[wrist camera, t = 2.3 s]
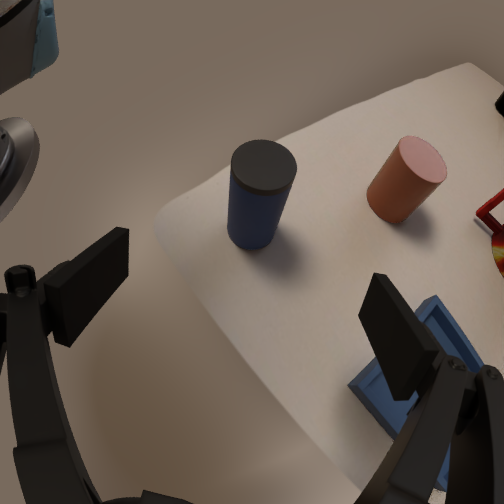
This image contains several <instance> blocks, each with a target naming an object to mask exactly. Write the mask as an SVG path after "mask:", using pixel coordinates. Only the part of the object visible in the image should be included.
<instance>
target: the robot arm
mask: <svg viewBox="0 0 504 504" xmlns="http://www.w3.org/2000/svg"><path fill="white" fill-rule="evenodd" d="M58 54H59V48H58V41H57V33H56V25H55V16H54V5H53V0H0V95H1V94H2V93H4V92H5V91H7V90H9V89H10V88H12V87H14V86H15V85H17V84H19V83H20V82H22V81H24V80H26V79H28V78H32V77H33V76H34V75H35V74H36V73H38V72H40V71H41V70H43V69H45V68H47V67H49V66H50V65H52V64H53V63H54V62H55V60H56V59H57V57H58ZM13 152H14V142H13V139H12V138H11V136H10V134H9V133H8V131H7V130H6V129H4V128H3V127H2V126H0V181H1V180H2V178H3V176H4V175H5V173H6V171H7V169H8V167H9V165H10V162H11V160H12V156H13ZM128 260H129V229H126V228H121V227H116V228H114V229H113V230H111V231H110V232H109V233H107V234H106V235H105V236H103V237H102V238H100V239H99V240H98V241H96V242H95V243H94V244H92V245H91V246H90V247H88V248H87V249H86V250H84V251H83V252H82V253H80V254H79V255H78V256H77V257H75V258H74V259H73V260H71V261H65V262H63V263H60V264H58V265H57V266H56V267H54V268H53V270H51V271H49V272H48V274H46V275H44V276H43V277H42V278H41V279H39V280H38V281H37V282H36V277H35V271H34V268H33V267H31V266H29V265H17V266H13V267H11V268H9V269H8V270H7V271H6V272H5V274H4V277H5V282H6V287H7V292H8V294H6V293H5V294H4V293H0V374H1V369H2V365H3V362H4V358H5V354H6V350H7V369H8V381H9V392H10V401H11V409H12V416H13V423H14V429H15V434H16V439H17V447H15V448H13V456H14V462H15V466H16V470H17V474H18V478H19V481H20V485H21V489H22V492H23V496H24V499H25V502H26V504H193V503H190V502H188V501H186V500H183V499H178V498H174V497H170V496H165V495H162V494H158V493H154V492H150V491H146V490H143V492H142V496H141V498H139V497H129V498H128V497H126V498H118V499H113V500H109V501H105V502H102V501H101V499H100V497H99V495H98V493H97V491H96V489H95V487H94V486H93V484H92V481H91V479H90V477H89V475H88V473H87V470H86V468H85V466H84V463H83V460H82V458H81V455H80V453H79V450H78V448H77V445H76V442H75V439H74V437H73V433H72V431H71V428H70V425H69V422H68V419H67V415H66V412H65V409H64V405H63V402H62V398H61V394H60V391H59V387H58V383H57V379H56V375H55V370H54V366H53V362H52V357H51V352H50V346H49V342H48V338H47V336H48V335H49V334H50V332H53V336H54V341H55V342H56V343H58V344H61V345H64V346H67V347H69V348H70V347H71V345H72V344H73V343H74V341H75V340H76V339H77V337H78V336H79V335H80V334H81V332H82V331H83V330H84V329H85V327H86V326H87V325H88V324H89V322H90V321H91V320H92V318H93V317H94V316H95V315H96V314H97V312H98V311H99V310H100V309H101V307H102V306H103V305H104V304H105V303H106V302H107V300H108V299H109V298H110V297H111V295H112V294H113V293H114V292H115V291H116V290H117V288H118V287H119V286H120V285H121V284H122V283H123V281H124V280H125V279H126V278H127V277H128V263H129V261H128ZM358 317H359V319H360V321H361V323H362V326H363V328H364V330H365V332H366V335H367V337H368V339H369V341H370V344H371V346H372V348H373V351H374V353H375V355H376V358H377V360H378V363H379V365H380V367H381V370H382V372H383V375H384V377H385V380H386V382H387V385H388V387H389V390H390V392H391V395H392V397H393V400H394V401H409V399H410V398H411V396H412V395H413V393H414V392H415V390H416V392H417V394H418V396H419V397H418V398H417V400H416V401H415V403H414V404H413V406H412V407H411V408H410V410H409V411H408V412H407V414H406V415H408V417H407V419H406V421H405V423H404V424H403V426H402V428H401V430H400V432H399V434H398V436H397V437H396V439H395V441H394V443H393V444H392V446H391V448H390V450H389V451H388V453H387V455H386V456H385V458H384V460H383V461H382V463H381V464H380V466H379V468H378V469H377V471H376V472H375V474H374V475H373V477H372V478H371V480H370V481H369V483H368V484H367V486H366V487H365V489H364V490H363V492H362V493H361V494H360V496H359V497H358V499H357V500H356V501H355V503H354V504H430V503H428V500H429V497H430V495H431V493H432V490H433V488H434V485H435V483H436V481H437V478H438V476H439V473H440V470H441V468H442V465H443V462H444V460H445V457H446V454H447V451H448V448H449V445H450V460H449V473H448V483H447V492H446V500H445V504H504V380H503V377H502V374H501V373H500V372H499V370H498V369H497V368H495V367H493V366H490V365H483V366H482V367H481V369H480V370H479V372H478V373H475V372H471V371H468V367H467V365H466V364H465V363H464V362H463V361H462V360H461V359H459V358H458V357H455V356H453V355H447V353H446V352H445V350H444V349H443V347H442V346H441V345H440V343H439V342H438V341H437V339H436V337H435V336H434V335H433V333H432V331H431V330H430V329H429V327H428V326H426V325H425V324H424V323H423V322H422V321H419V319H418V318H417V316H416V315H415V313H414V312H413V311H412V309H411V308H410V306H409V305H408V304H407V302H406V301H405V300H404V298H403V297H402V295H401V294H400V293H399V291H398V290H397V289H396V287H395V286H394V285H393V283H392V282H391V281H390V279H389V278H388V277H387V275H385V274H379V273H374V274H373V276H372V279H371V282H370V285H369V288H368V290H367V293H366V296H365V299H364V301H363V304H362V307H361V309H360V312H359V314H358Z"/></svg>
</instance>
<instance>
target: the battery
mask: <svg viewBox="0 0 504 504" xmlns="http://www.w3.org/2000/svg"><path fill="white" fill-rule="evenodd" d="M495 105H496V107H497V109H498V110H499V112H500V113H501V114H502V115H503V116H504V91H503V93H502V94H501V95H500V97H499V98H498V99H497V101H496V102H495Z"/></svg>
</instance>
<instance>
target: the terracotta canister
mask: <svg viewBox="0 0 504 504" xmlns="http://www.w3.org/2000/svg"><path fill="white" fill-rule="evenodd" d="M446 176H447V168H446V165H445V162H444V160H443V158H442V157H441V155H440V154H439V152H438V151H437V150H436V149H435V148H434V147H433V146H432V145H431V144H429V143H428V142H426V141H425V140H423V139H421V138H419V137H415V136H405V137H403V138H401V139H400V141H399V142H398V144H397V145H396V147H395V148H394V150H393V151H392V153H391V154H390V156H389V157H388V159H387V160H386V162H385V163H384V165H383V166H382V168H381V169H380V170H379V172H378V173H377V175H376V176H375V178H374V179H373V181H372V182H371V183H370V185H369V187H368V189H367V199H368V202H369V205H370V207H371V208H372V210H373V211H374V212H375V213H376V214H377V215H378V216H379V217H380V218H382V219H383V220H385V221H388V222H391V223H400V222H403V221H404V220H406V219H407V218H408V217H409V216H410V215H411V214H412V213H413V212H414V211H415V210H416V209H417V208H418V207H419V206H420V205H421V204H422V203H423V202H424V201H425V200H426V199H427V198H428V197H429V196H430V195H431V194H432V193H433V192H434V190H435V189H436V188H437V187H438V186H439V185H440V184H441V183H442V182H443V181H444V180H445V178H446Z"/></svg>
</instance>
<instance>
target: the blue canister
mask: <svg viewBox="0 0 504 504" xmlns="http://www.w3.org/2000/svg"><path fill="white" fill-rule="evenodd" d="M296 172H297V164H296V161H295V158H294V156H293V155H292V154H291V152H290V151H289V150H288V149H286V148H285V147H284V146H282V145H280V144H278V143H276V142H273V141H269V140H253V141H249V142H246V143H244V144H242V145H241V146H239V147H238V148H237V149H236V150H235V152H234V153H233V156H232V159H231V171H230V187H229V204H228V223H227V230H228V234H229V237H230V238H231V240H232V241H233V242H234V243H235V244H236V245H238V246H239V247H241V248H244V249H248V250H256V249H260V248H263V247H265V246H266V245H268V244H269V243H270V242H271V240H272V239H273V236H274V234H275V231H276V228H277V225H278V223H279V220H280V217H281V214H282V212H283V209H284V206H285V203H286V201H287V198H288V195H289V192H290V189H291V187H292V184H293V181H294V178H295V175H296Z"/></svg>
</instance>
